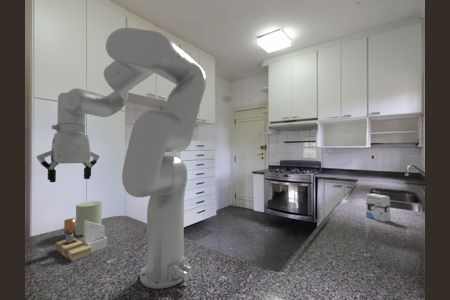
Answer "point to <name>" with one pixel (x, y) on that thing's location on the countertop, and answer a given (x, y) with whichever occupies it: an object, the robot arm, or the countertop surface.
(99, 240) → the white angled block
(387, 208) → the ink box
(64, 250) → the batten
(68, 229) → the awl
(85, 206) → the can
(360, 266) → the countertop surface
